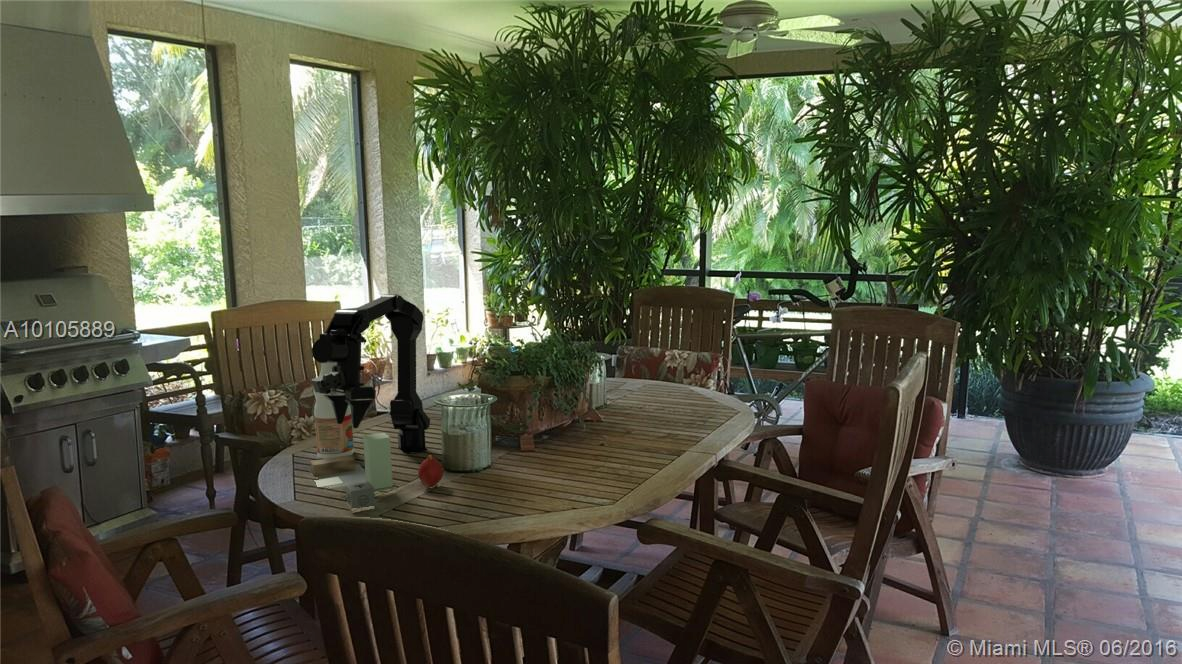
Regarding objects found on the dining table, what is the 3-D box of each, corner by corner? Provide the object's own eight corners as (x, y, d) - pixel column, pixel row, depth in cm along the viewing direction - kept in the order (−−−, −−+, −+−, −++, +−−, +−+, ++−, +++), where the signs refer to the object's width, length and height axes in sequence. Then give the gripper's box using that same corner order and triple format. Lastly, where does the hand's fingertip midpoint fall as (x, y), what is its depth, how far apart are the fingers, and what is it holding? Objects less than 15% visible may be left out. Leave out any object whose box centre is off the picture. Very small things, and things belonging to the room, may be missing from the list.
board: (359, 468, 212) (358, 463, 212) (375, 485, 199) (374, 480, 198) (302, 477, 206) (301, 472, 206) (314, 495, 192) (314, 490, 192)
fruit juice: (313, 457, 224) (306, 355, 220) (348, 451, 229) (341, 351, 225) (323, 465, 216) (315, 359, 212) (358, 459, 221) (352, 355, 217)
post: (387, 485, 198) (384, 432, 197) (393, 491, 194) (389, 437, 192) (366, 489, 196) (363, 435, 194) (371, 494, 192) (368, 440, 190)
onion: (417, 485, 198) (415, 453, 197) (441, 482, 200) (439, 450, 199) (421, 492, 192) (419, 459, 191) (445, 489, 194) (444, 456, 193)
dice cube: (369, 502, 187) (368, 481, 186) (375, 509, 182) (374, 487, 182) (347, 506, 184) (345, 485, 184) (352, 513, 180) (350, 491, 179)
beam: (351, 466, 210) (351, 454, 210) (355, 470, 207) (354, 458, 207) (311, 472, 206) (310, 461, 205) (314, 477, 202) (313, 465, 202)
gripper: (301, 360, 202) (300, 423, 202) (331, 364, 188) (330, 432, 188) (345, 359, 209) (343, 421, 209) (377, 363, 195) (376, 429, 195)
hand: (347, 425), depth 200 cm, fingers open, 9 cm apart
